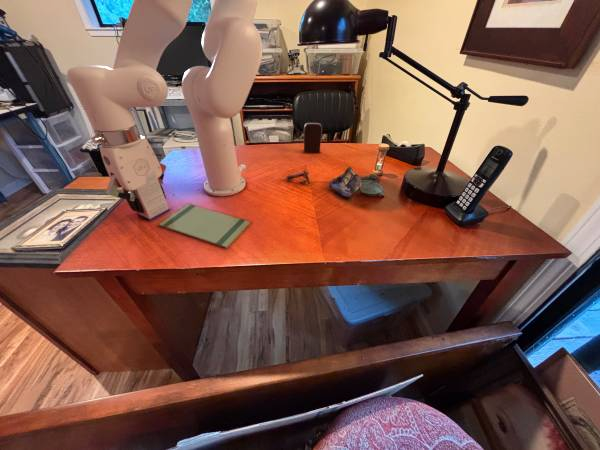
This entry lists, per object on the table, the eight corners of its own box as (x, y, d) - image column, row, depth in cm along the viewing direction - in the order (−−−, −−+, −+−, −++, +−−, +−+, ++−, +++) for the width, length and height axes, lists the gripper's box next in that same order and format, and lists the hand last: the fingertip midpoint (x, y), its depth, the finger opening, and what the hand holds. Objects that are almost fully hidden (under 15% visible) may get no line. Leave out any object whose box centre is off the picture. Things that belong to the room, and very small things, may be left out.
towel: (188, 205, 67) (187, 203, 66) (250, 223, 61) (249, 221, 61) (159, 226, 60) (158, 223, 59) (226, 248, 54) (225, 246, 53)
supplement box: (170, 209, 65) (155, 171, 58) (150, 221, 61) (131, 181, 54) (157, 203, 67) (140, 165, 60) (137, 214, 63) (116, 174, 56)
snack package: (374, 196, 73) (356, 177, 81) (376, 178, 68) (357, 160, 77) (338, 207, 71) (323, 187, 79) (337, 190, 67) (322, 170, 75)
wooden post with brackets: (311, 184, 75) (306, 171, 73) (290, 188, 80) (285, 176, 78) (313, 181, 77) (309, 168, 75) (293, 185, 81) (288, 173, 79)
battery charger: (319, 149, 100) (321, 121, 93) (320, 153, 97) (322, 124, 90) (303, 149, 100) (303, 121, 93) (303, 153, 97) (304, 124, 90)
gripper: (90, 152, 44) (131, 227, 55) (164, 126, 56) (185, 192, 68) (64, 145, 46) (108, 219, 57) (141, 122, 59) (165, 186, 70)
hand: (150, 204), depth 62 cm, fingers closed on supplement box, 6 cm apart
